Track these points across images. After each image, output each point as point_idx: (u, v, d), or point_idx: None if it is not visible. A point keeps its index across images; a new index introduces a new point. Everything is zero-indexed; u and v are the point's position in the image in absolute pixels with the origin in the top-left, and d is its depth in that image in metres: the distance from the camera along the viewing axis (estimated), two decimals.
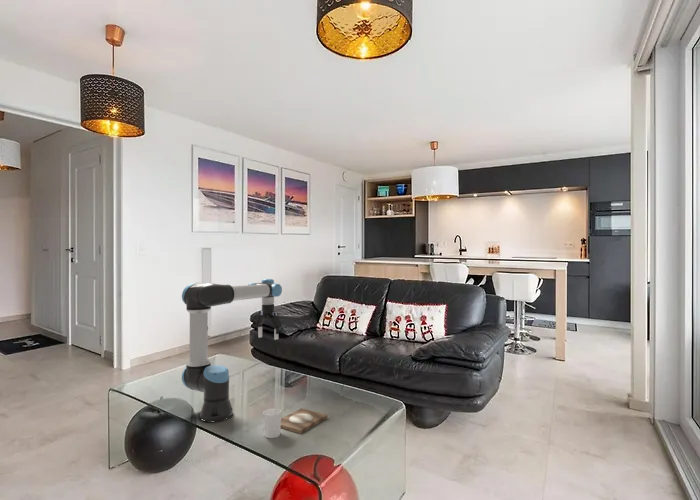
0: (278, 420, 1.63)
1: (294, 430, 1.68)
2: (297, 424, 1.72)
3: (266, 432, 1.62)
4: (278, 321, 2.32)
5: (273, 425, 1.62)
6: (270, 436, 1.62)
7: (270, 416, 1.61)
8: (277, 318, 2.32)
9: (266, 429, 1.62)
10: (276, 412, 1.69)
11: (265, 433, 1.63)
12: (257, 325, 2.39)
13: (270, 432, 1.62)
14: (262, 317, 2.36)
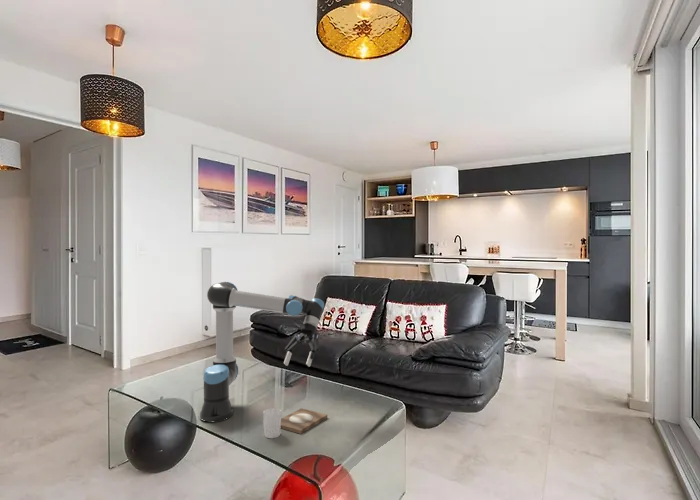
0: (278, 420, 1.63)
1: (294, 430, 1.68)
2: (297, 424, 1.72)
3: (266, 432, 1.62)
4: (317, 344, 1.86)
5: (273, 425, 1.62)
6: (270, 436, 1.62)
7: (270, 416, 1.62)
8: (317, 341, 1.88)
9: (266, 429, 1.62)
10: (276, 412, 1.69)
11: (265, 433, 1.63)
12: (287, 349, 1.92)
13: (270, 432, 1.62)
14: (298, 339, 1.92)
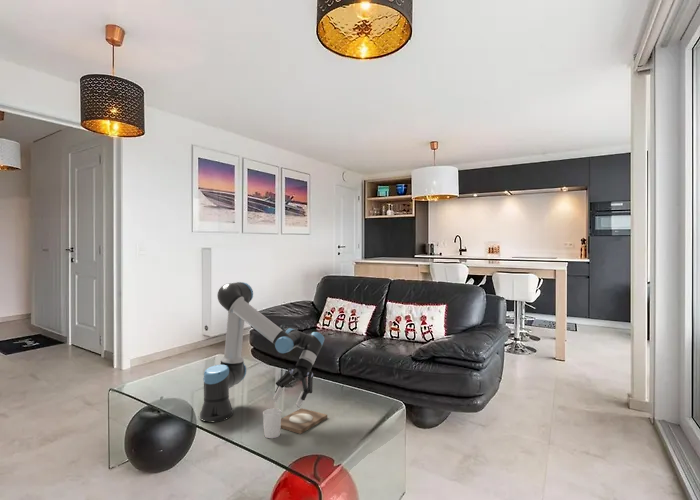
0: (278, 420, 1.63)
1: (294, 430, 1.68)
2: (297, 424, 1.72)
3: (266, 432, 1.62)
4: (311, 384, 1.73)
5: (273, 425, 1.62)
6: (270, 436, 1.62)
7: (270, 416, 1.61)
8: (311, 380, 1.75)
9: (266, 429, 1.62)
10: (276, 412, 1.69)
11: (265, 433, 1.63)
12: (278, 384, 1.79)
13: (270, 432, 1.62)
14: (291, 374, 1.80)
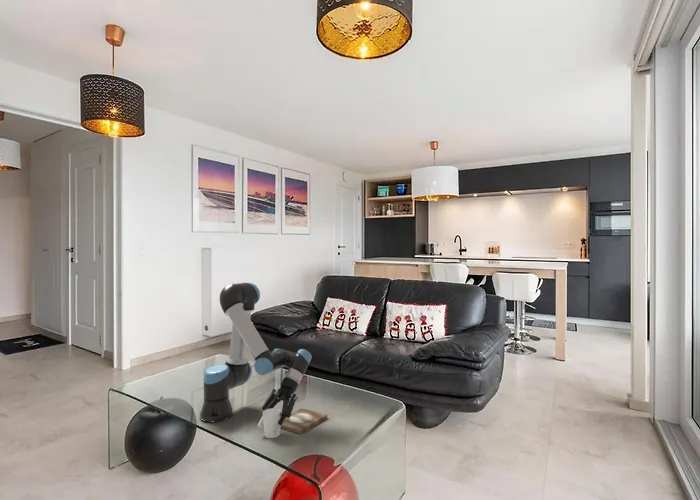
0: None
1: (294, 430, 1.68)
2: (297, 424, 1.72)
3: (266, 432, 1.62)
4: (291, 407, 1.65)
5: (273, 424, 1.62)
6: (270, 436, 1.62)
7: (270, 416, 1.62)
8: (292, 403, 1.67)
9: (266, 429, 1.62)
10: (276, 412, 1.69)
11: (265, 433, 1.63)
12: (264, 409, 1.69)
13: (270, 432, 1.62)
14: (276, 395, 1.71)
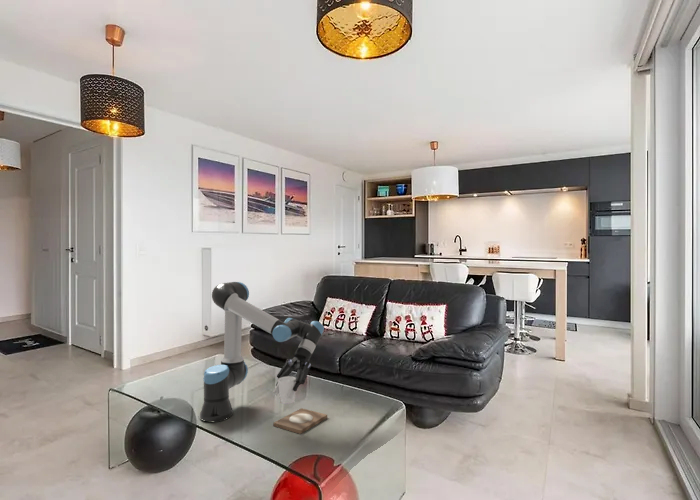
0: None
1: (294, 430, 1.68)
2: (297, 424, 1.72)
3: (281, 398, 1.68)
4: (305, 375, 1.71)
5: (288, 391, 1.68)
6: (285, 402, 1.68)
7: (285, 382, 1.67)
8: (306, 371, 1.73)
9: (281, 395, 1.68)
10: (290, 380, 1.75)
11: (280, 399, 1.69)
12: (279, 377, 1.75)
13: (285, 398, 1.68)
14: (290, 364, 1.77)
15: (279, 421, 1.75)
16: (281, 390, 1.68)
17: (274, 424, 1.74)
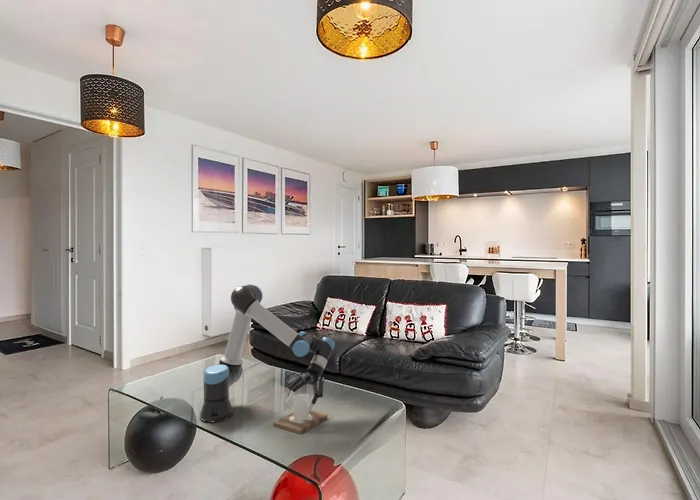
0: (307, 404, 1.77)
1: (294, 430, 1.68)
2: (297, 424, 1.72)
3: (296, 415, 1.76)
4: (321, 388, 1.79)
5: (303, 408, 1.75)
6: (300, 419, 1.75)
7: (300, 400, 1.75)
8: (322, 384, 1.80)
9: (296, 412, 1.75)
10: (304, 397, 1.82)
11: (295, 416, 1.76)
12: (291, 388, 1.85)
13: (300, 415, 1.75)
14: (303, 378, 1.85)
15: (279, 421, 1.75)
16: (296, 407, 1.75)
17: (274, 424, 1.74)
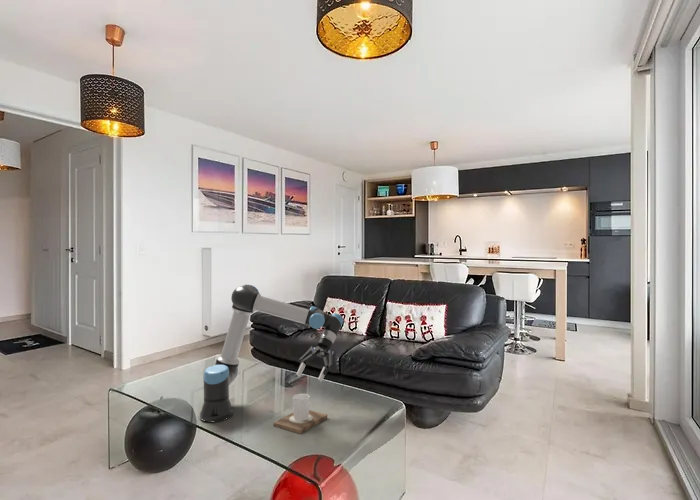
0: (307, 404, 1.76)
1: (294, 430, 1.68)
2: (297, 424, 1.72)
3: (296, 415, 1.76)
4: (332, 360, 1.88)
5: (303, 408, 1.75)
6: (300, 419, 1.75)
7: (300, 400, 1.75)
8: (332, 357, 1.89)
9: (296, 412, 1.75)
10: (304, 397, 1.82)
11: (295, 416, 1.76)
12: (301, 360, 1.94)
13: (300, 415, 1.75)
14: (313, 352, 1.94)
15: (279, 421, 1.75)
16: (296, 407, 1.75)
17: (274, 424, 1.74)
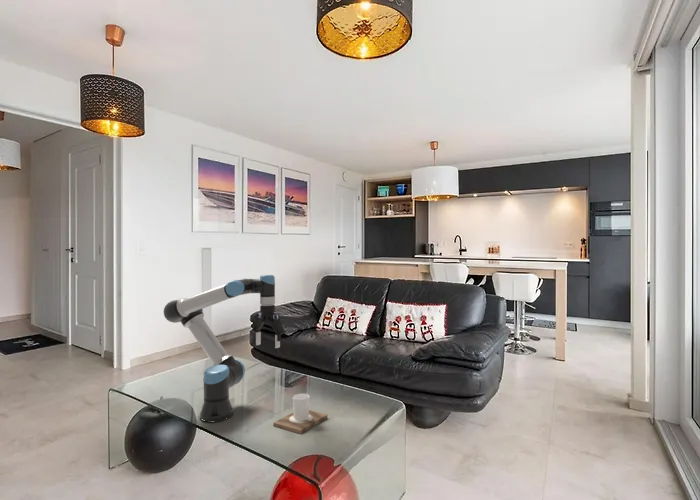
0: (307, 404, 1.77)
1: (294, 430, 1.68)
2: (297, 424, 1.72)
3: (296, 415, 1.76)
4: (280, 326, 1.92)
5: (303, 408, 1.75)
6: (300, 419, 1.75)
7: (300, 400, 1.75)
8: (279, 322, 1.92)
9: (296, 412, 1.75)
10: (304, 397, 1.82)
11: (295, 416, 1.76)
12: (254, 330, 2.00)
13: (300, 415, 1.75)
14: (260, 321, 1.97)
15: (279, 421, 1.75)
16: (296, 407, 1.75)
17: (274, 424, 1.74)
